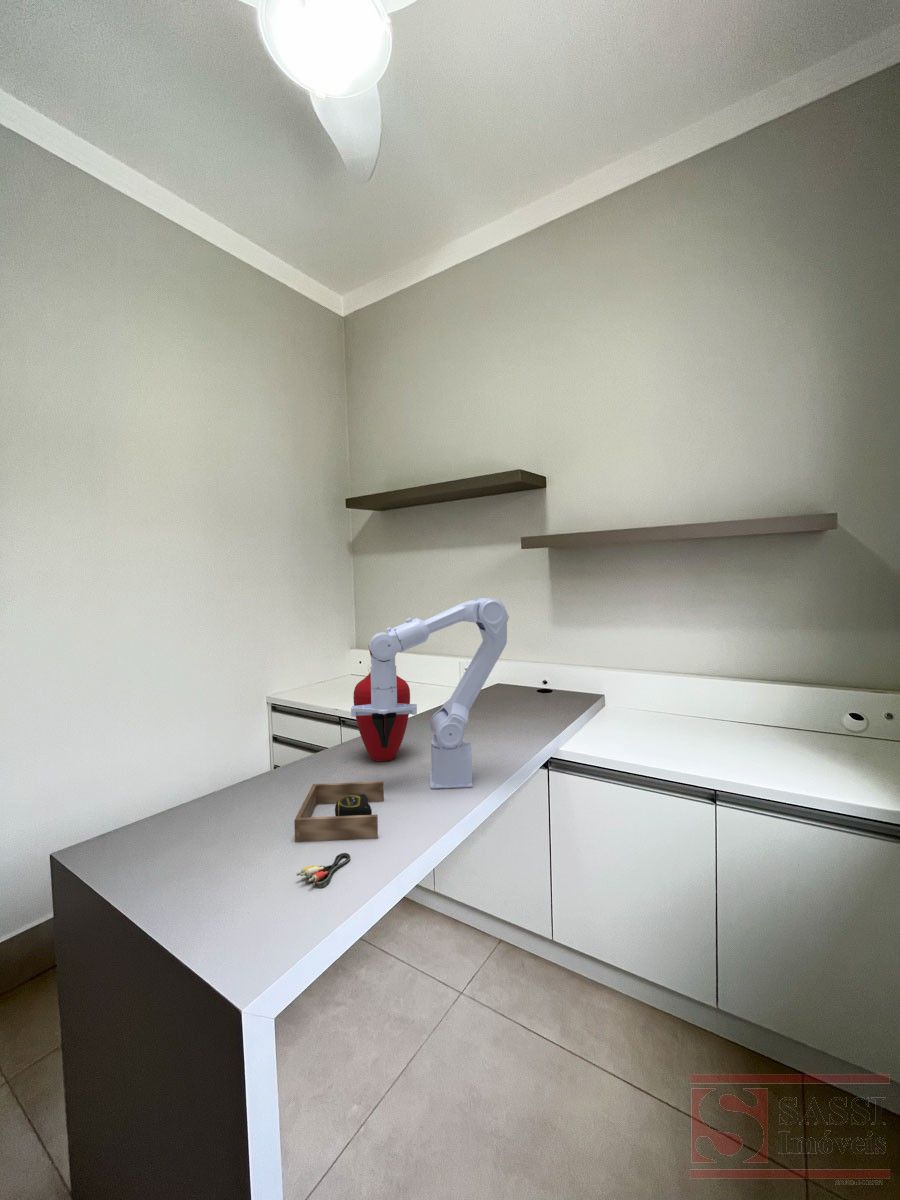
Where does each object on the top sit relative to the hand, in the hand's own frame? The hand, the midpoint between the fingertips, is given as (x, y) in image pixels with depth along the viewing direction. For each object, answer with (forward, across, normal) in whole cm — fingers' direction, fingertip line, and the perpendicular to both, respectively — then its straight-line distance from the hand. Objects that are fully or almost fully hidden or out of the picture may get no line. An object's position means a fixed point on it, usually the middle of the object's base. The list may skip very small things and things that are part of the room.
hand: (385, 746), depth 112 cm
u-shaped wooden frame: (+9, -7, -14) cm, 18 cm away
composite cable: (+10, -7, -32) cm, 34 cm away
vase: (+10, -2, +19) cm, 21 cm away
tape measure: (+10, -5, -14) cm, 17 cm away
